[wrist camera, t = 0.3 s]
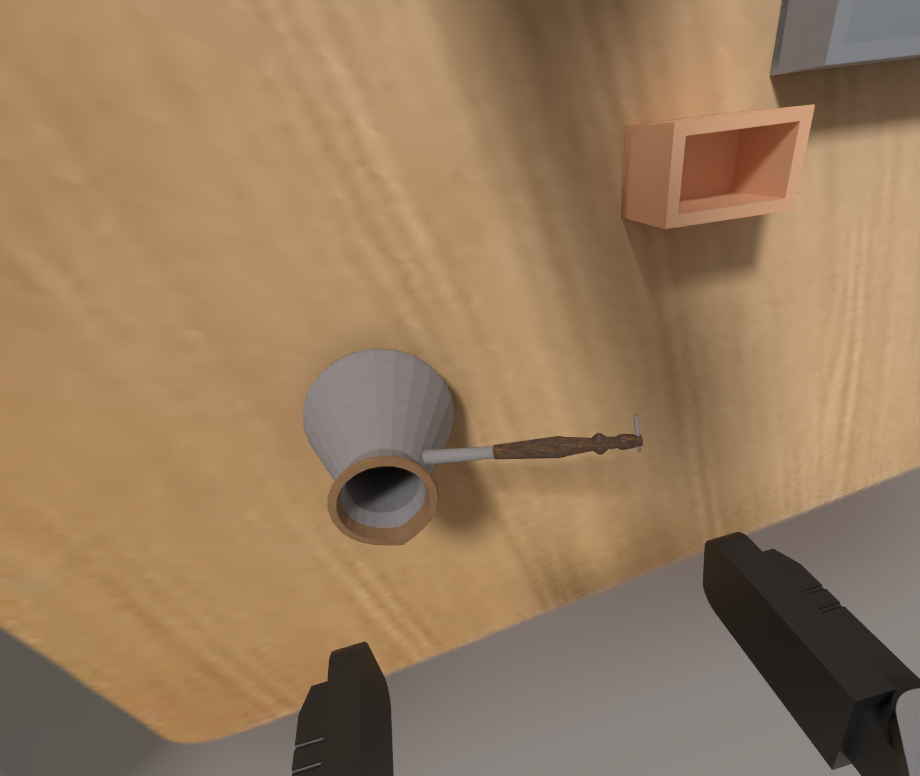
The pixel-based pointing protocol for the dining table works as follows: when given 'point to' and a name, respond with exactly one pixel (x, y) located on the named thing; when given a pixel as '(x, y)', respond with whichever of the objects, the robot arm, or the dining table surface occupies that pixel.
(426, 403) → the coffee pot
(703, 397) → the dining table surface
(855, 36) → the grey crate
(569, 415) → the dining table surface
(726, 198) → the terracotta crate
